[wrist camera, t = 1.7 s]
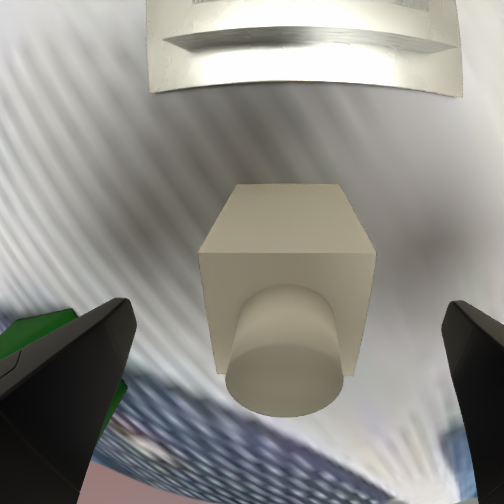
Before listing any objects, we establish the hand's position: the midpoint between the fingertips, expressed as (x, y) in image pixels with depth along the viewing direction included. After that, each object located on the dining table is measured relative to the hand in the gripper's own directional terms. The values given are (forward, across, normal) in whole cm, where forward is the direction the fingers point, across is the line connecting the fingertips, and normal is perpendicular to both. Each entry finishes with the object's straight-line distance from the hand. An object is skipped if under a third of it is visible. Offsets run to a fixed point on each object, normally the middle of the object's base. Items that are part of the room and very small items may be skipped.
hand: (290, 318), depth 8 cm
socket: (+6, -1, -12) cm, 13 cm away
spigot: (+6, 0, 0) cm, 6 cm away
